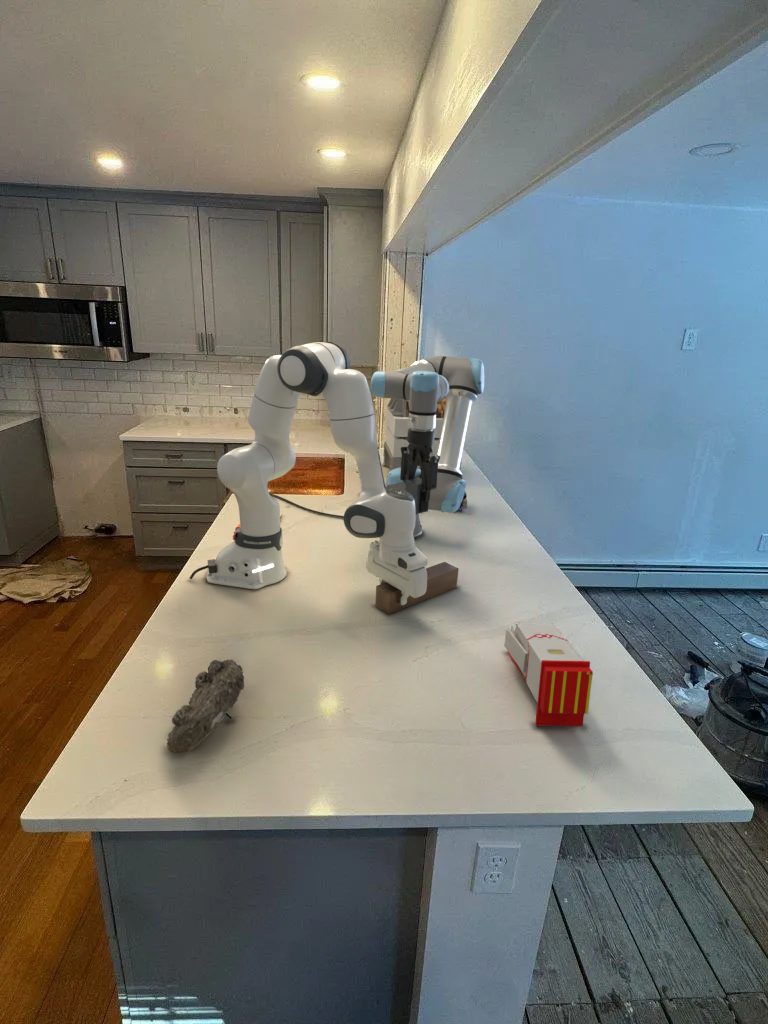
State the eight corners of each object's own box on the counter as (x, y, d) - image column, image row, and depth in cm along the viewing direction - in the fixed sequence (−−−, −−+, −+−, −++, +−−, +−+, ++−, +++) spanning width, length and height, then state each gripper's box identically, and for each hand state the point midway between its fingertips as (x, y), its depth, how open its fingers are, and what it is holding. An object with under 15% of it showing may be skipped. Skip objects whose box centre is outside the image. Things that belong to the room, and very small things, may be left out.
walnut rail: (375, 605, 151) (376, 585, 149) (442, 580, 167) (444, 561, 165) (388, 614, 147) (389, 593, 145) (456, 587, 163) (458, 568, 161)
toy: (550, 607, 134) (601, 667, 105) (545, 659, 137) (594, 732, 108) (499, 606, 134) (537, 666, 104) (495, 659, 137) (530, 731, 107)
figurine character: (467, 516, 223) (461, 500, 237) (469, 499, 220) (463, 483, 233) (450, 516, 223) (446, 499, 236) (452, 498, 220) (447, 483, 233)
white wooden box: (382, 463, 289) (386, 382, 275) (445, 464, 293) (451, 384, 279) (390, 482, 257) (394, 392, 243) (460, 483, 261) (468, 394, 247)
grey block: (403, 509, 165) (405, 480, 162) (416, 506, 168) (418, 477, 165) (415, 514, 161) (417, 484, 158) (428, 511, 164) (430, 481, 161)
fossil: (192, 660, 117) (244, 628, 112) (224, 691, 120) (276, 661, 115) (142, 746, 98) (202, 712, 93) (182, 779, 101) (242, 748, 96)
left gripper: (361, 540, 151) (360, 587, 156) (414, 567, 137) (411, 618, 142) (379, 535, 155) (377, 581, 160) (432, 561, 141) (428, 610, 146)
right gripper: (389, 424, 160) (386, 502, 168) (435, 436, 148) (429, 520, 156) (409, 422, 165) (404, 497, 173) (454, 433, 152) (447, 514, 160)
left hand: (393, 598), depth 151 cm, fingers closed on walnut rail, 5 cm apart
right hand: (416, 508), depth 164 cm, fingers closed on grey block, 5 cm apart
